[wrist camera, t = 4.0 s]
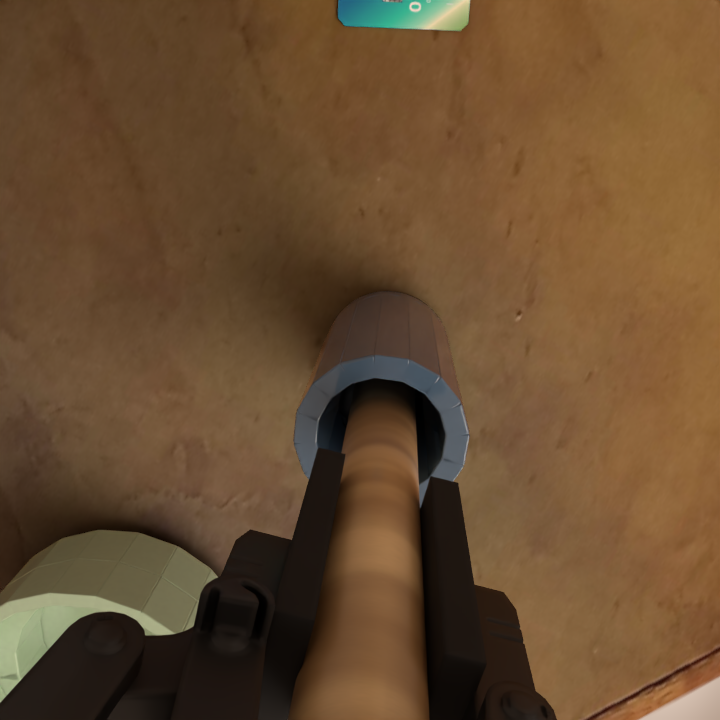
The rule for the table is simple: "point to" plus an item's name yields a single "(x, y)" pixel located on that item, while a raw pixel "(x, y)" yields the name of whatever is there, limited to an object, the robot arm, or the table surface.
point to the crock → (391, 362)
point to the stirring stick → (371, 574)
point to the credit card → (405, 14)
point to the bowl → (95, 592)
